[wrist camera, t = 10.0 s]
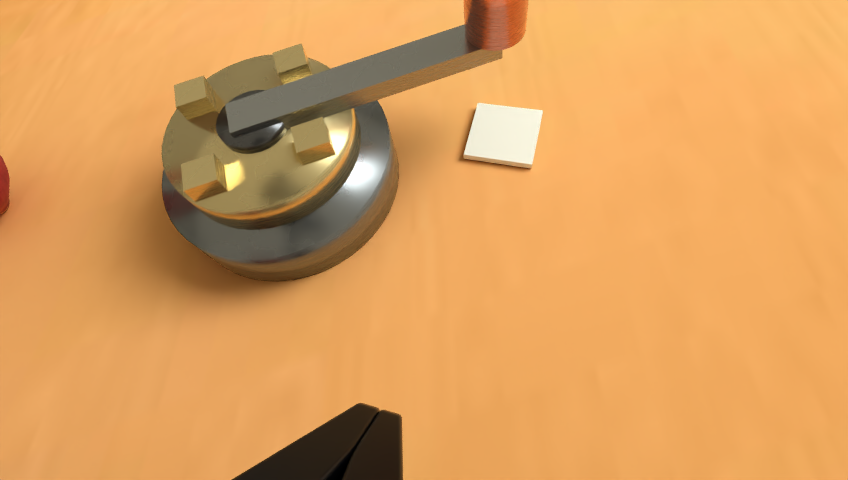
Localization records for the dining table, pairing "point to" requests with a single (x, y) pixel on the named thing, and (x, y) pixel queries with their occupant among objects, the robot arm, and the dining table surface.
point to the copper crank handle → (306, 118)
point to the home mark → (503, 135)
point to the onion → (4, 187)
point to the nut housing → (316, 232)
